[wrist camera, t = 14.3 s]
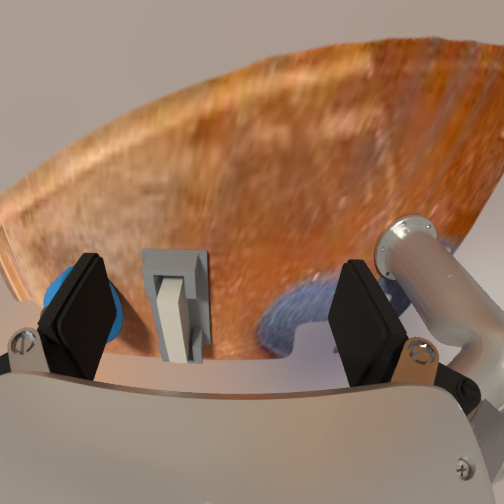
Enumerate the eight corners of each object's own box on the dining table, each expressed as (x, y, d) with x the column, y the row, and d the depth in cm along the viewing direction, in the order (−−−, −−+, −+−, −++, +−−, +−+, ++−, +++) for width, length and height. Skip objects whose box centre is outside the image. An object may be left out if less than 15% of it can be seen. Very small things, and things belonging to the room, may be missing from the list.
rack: (207, 250, 43) (204, 271, 38) (210, 341, 54) (209, 363, 49) (143, 248, 42) (133, 269, 37) (160, 338, 53) (155, 360, 48)
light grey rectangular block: (184, 271, 43) (177, 301, 37) (191, 333, 51) (187, 363, 45) (165, 271, 43) (156, 300, 37) (175, 332, 50) (169, 362, 44)
